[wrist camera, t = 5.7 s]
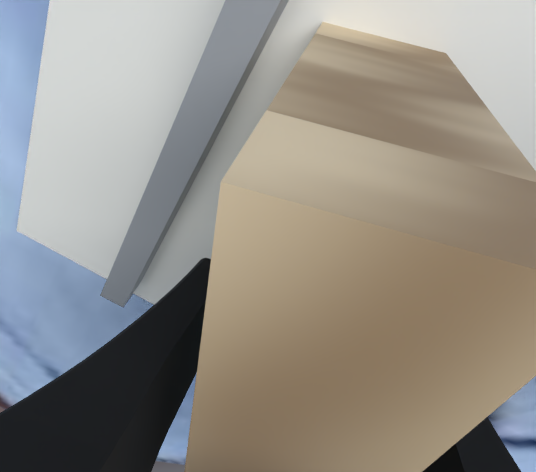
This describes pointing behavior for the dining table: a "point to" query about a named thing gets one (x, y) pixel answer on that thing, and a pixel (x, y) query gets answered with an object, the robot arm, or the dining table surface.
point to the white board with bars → (210, 112)
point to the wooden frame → (365, 269)
